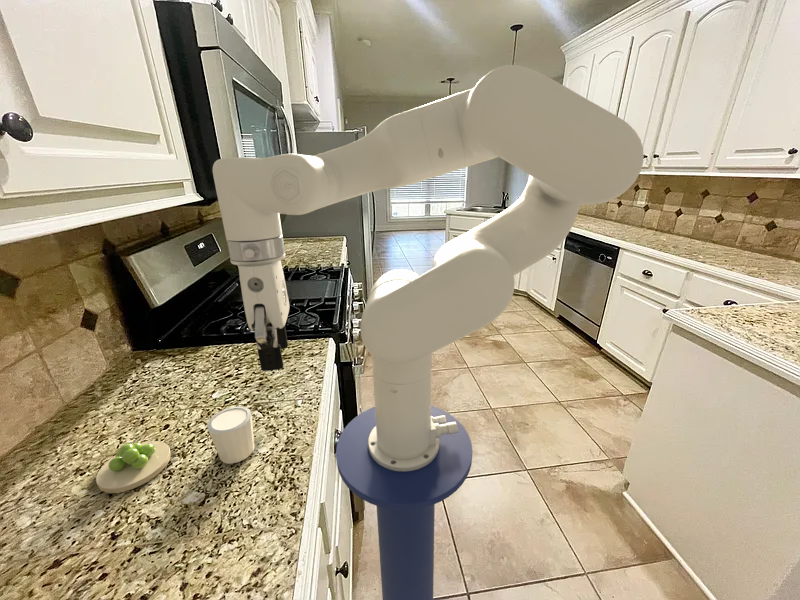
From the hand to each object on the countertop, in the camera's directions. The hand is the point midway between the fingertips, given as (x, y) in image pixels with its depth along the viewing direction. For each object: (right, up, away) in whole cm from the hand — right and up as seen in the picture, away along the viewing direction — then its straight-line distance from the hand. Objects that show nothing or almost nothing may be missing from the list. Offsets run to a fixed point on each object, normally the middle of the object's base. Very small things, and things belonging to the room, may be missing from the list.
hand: (275, 357), depth 56 cm
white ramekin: (-8, -17, +5) cm, 20 cm away
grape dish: (-24, -19, +2) cm, 31 cm away
